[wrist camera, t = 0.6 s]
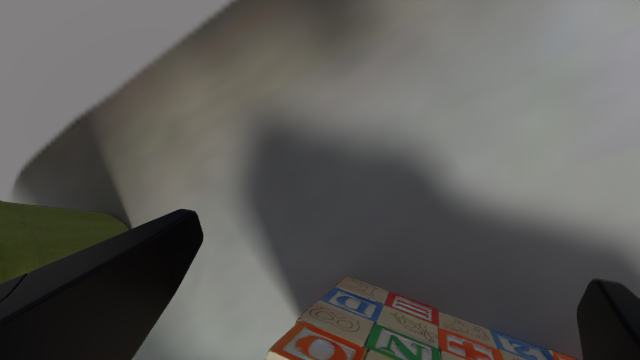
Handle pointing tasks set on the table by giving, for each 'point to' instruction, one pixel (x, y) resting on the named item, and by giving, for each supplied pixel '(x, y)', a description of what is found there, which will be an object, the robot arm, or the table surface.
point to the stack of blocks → (392, 331)
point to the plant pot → (47, 235)
